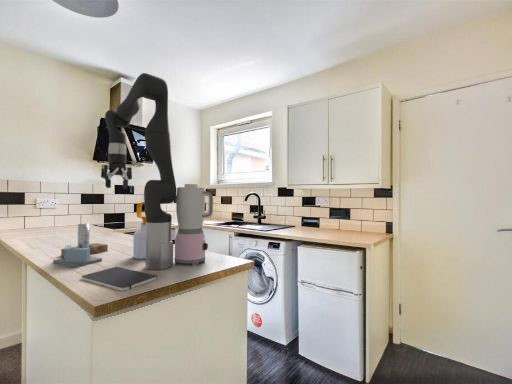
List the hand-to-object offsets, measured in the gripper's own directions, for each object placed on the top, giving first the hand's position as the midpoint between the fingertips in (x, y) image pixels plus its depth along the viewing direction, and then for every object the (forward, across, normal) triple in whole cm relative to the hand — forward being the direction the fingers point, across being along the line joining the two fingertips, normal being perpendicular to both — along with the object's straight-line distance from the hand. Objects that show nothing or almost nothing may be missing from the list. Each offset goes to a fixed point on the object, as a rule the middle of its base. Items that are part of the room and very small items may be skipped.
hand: (117, 188), depth 126 cm
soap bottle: (+30, 0, -19) cm, 36 cm away
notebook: (+31, -25, -36) cm, 53 cm away
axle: (+29, -17, -3) cm, 34 cm away
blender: (+30, +3, -44) cm, 54 cm away
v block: (+30, -20, -3) cm, 36 cm away
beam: (+30, -9, +9) cm, 33 cm away
